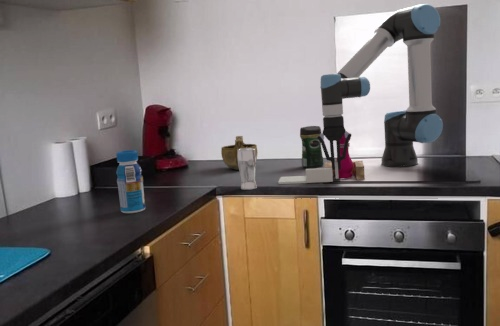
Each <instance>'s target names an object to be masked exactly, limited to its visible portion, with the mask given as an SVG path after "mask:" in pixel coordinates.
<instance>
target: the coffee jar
mask: <svg viewBox="0 0 500 326" xmlns="http://www.w3.org/2000/svg"><path fill="white" fill-rule="evenodd" d="M322 133H323V132H322V129H321V126H320V125H319V126H318V125H308V126H304V127H300V130H299V138H300V139H301V149H302V150H301V151H302V152H301V166H302V167H303V168H304V169H315V168H320V167H323V166H324V165H325V162H324V156H323V151H322V150H323V149H322V145H321V142H320V141H319V140H318V138H317V137H318V136H319V135H321V134H322Z"/></svg>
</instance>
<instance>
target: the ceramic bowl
mask: <svg viewBox="0 0 500 326" xmlns="http://www.w3.org/2000/svg"><path fill="white" fill-rule="evenodd" d="M243 140H244V137H243V135H237V136H235V139H234V144H230V145H224V146H221V149H220V150H221V151H220V152H221V158H222V161H223V164H224V165H225V166H226V167H228V168H230V169H231V170H232V169H233V170H236V171H239V166H238V149H243V148H255V154H256V160H257V158H258V147H257V144H255V143H254V144H253V143H245V142H244V141H243Z"/></svg>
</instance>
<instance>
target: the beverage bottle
mask: <svg viewBox="0 0 500 326" xmlns="http://www.w3.org/2000/svg"><path fill="white" fill-rule="evenodd" d="M138 160H139V154H138V150H135V149H132V150H131V149H129V150H121V151H117V152H116V161H117V163H119V164H118V166H117V168H116V173H115V174H116V175H117V179H116V183H117V188H118V189H117V190H118V197H119V206H120V207H119V209H120V212H121V213H122V214H135V213H140V212H143V211H145V210H146V200H145V192H144V189H145V188H144V176H143V175H142V172H143V170H142V168H141V166H140V164H139V163H138Z"/></svg>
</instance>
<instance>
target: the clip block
mask: <svg viewBox="0 0 500 326" xmlns="http://www.w3.org/2000/svg"><path fill="white" fill-rule="evenodd" d="M352 162H353V169H352V170H351V172H352V175H355V178H356V180H358V179H359V180H365V179H366V178H365V177H366V176H365V164H364V162H363V160H352ZM324 168H332V162H331V161H324ZM332 174H333V176H336V175H335V170H332ZM359 180H358V181H359Z"/></svg>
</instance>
